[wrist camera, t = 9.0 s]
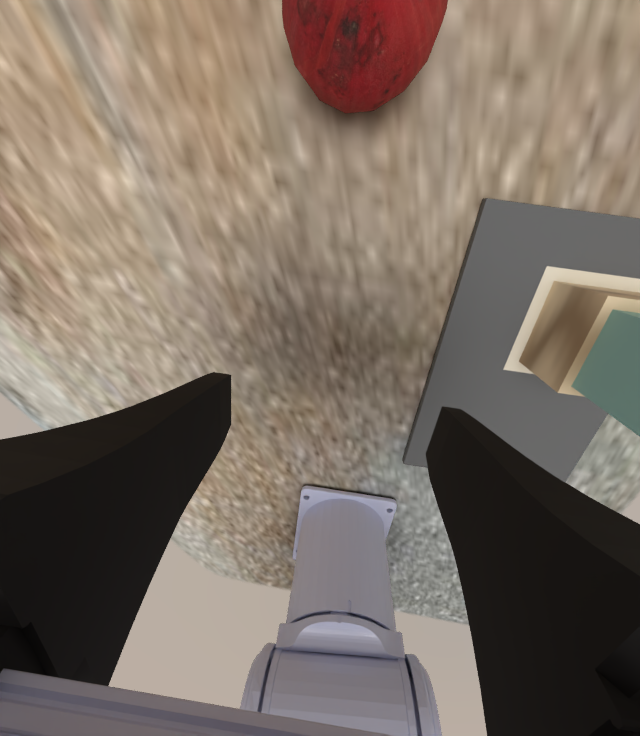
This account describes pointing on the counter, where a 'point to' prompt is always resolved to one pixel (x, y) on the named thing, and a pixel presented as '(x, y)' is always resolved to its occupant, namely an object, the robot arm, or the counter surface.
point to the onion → (361, 47)
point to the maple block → (571, 330)
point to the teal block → (615, 369)
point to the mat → (522, 327)
